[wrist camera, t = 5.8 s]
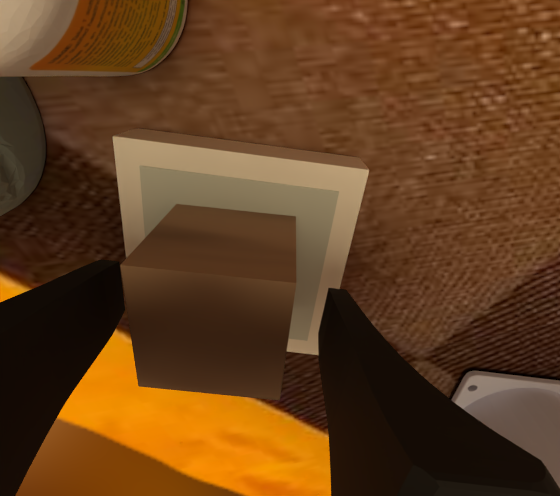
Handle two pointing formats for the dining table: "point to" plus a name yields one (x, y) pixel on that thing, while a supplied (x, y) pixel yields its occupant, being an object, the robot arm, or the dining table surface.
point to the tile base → (249, 202)
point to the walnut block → (212, 301)
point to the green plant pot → (19, 143)
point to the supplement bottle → (87, 36)
